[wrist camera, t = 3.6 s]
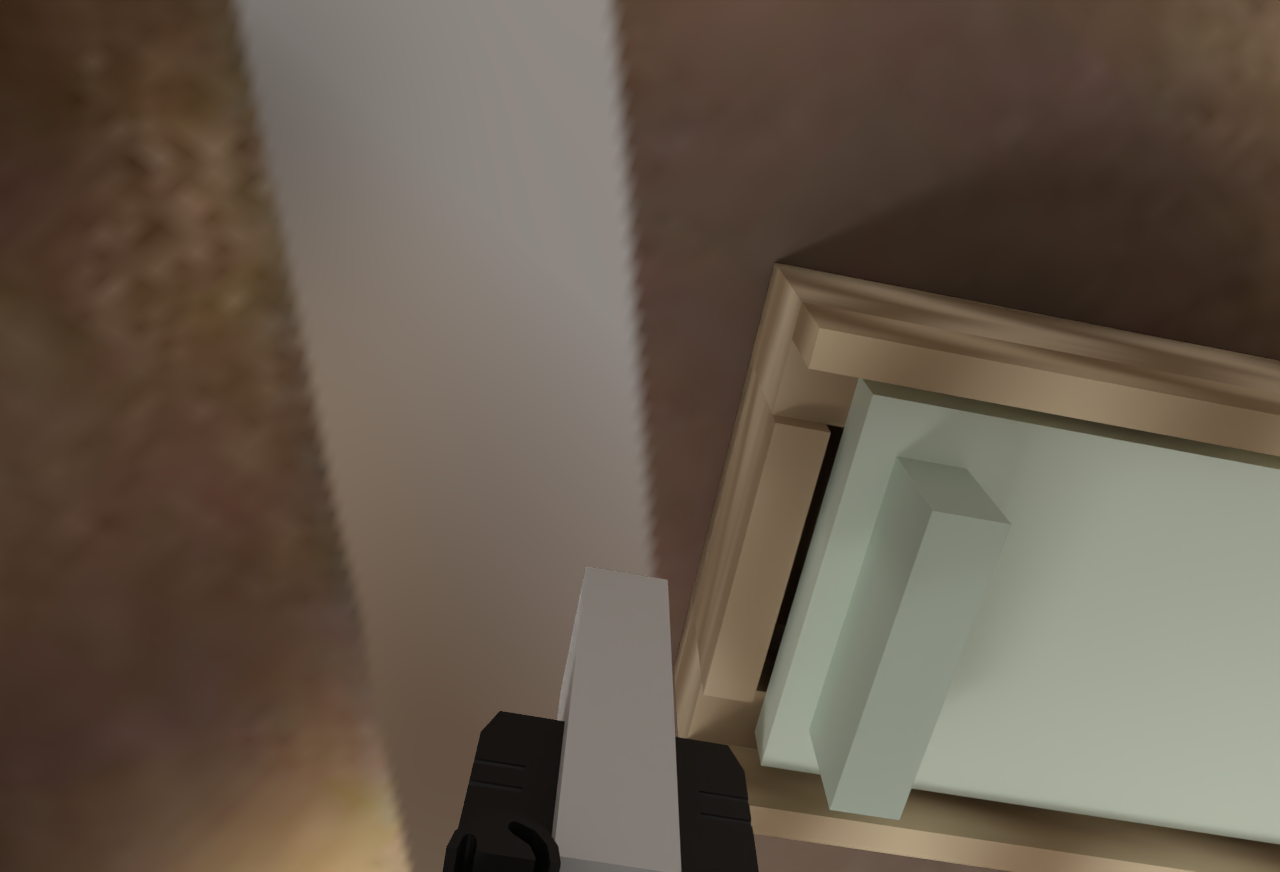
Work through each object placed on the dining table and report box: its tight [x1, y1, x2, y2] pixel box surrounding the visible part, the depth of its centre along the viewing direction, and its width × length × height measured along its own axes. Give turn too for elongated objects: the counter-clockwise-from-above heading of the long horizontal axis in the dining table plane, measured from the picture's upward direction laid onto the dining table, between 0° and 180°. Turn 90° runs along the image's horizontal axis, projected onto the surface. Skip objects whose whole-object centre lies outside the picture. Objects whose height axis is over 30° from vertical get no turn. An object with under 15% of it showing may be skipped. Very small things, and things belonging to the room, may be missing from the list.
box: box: [674, 262, 1280, 872], centre depth 23 cm, size 16×12×6 cm
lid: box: [755, 378, 1280, 844], centre depth 21 cm, size 14×9×4 cm
